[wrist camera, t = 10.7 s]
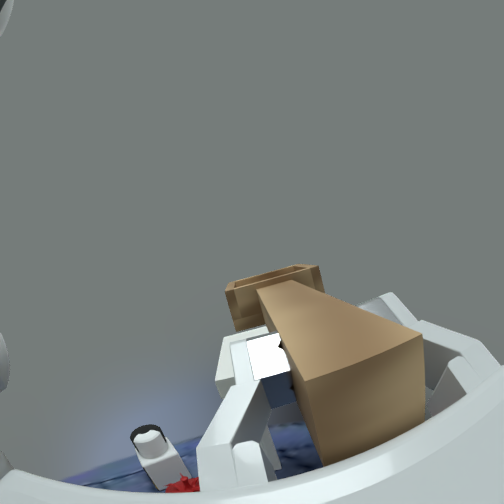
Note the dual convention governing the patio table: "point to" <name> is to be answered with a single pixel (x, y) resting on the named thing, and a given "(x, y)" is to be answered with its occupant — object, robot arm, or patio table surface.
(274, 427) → the patio table surface
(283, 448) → the patio table surface
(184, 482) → the pomegranate
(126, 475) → the patio table surface
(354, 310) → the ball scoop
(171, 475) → the medicine bottle
